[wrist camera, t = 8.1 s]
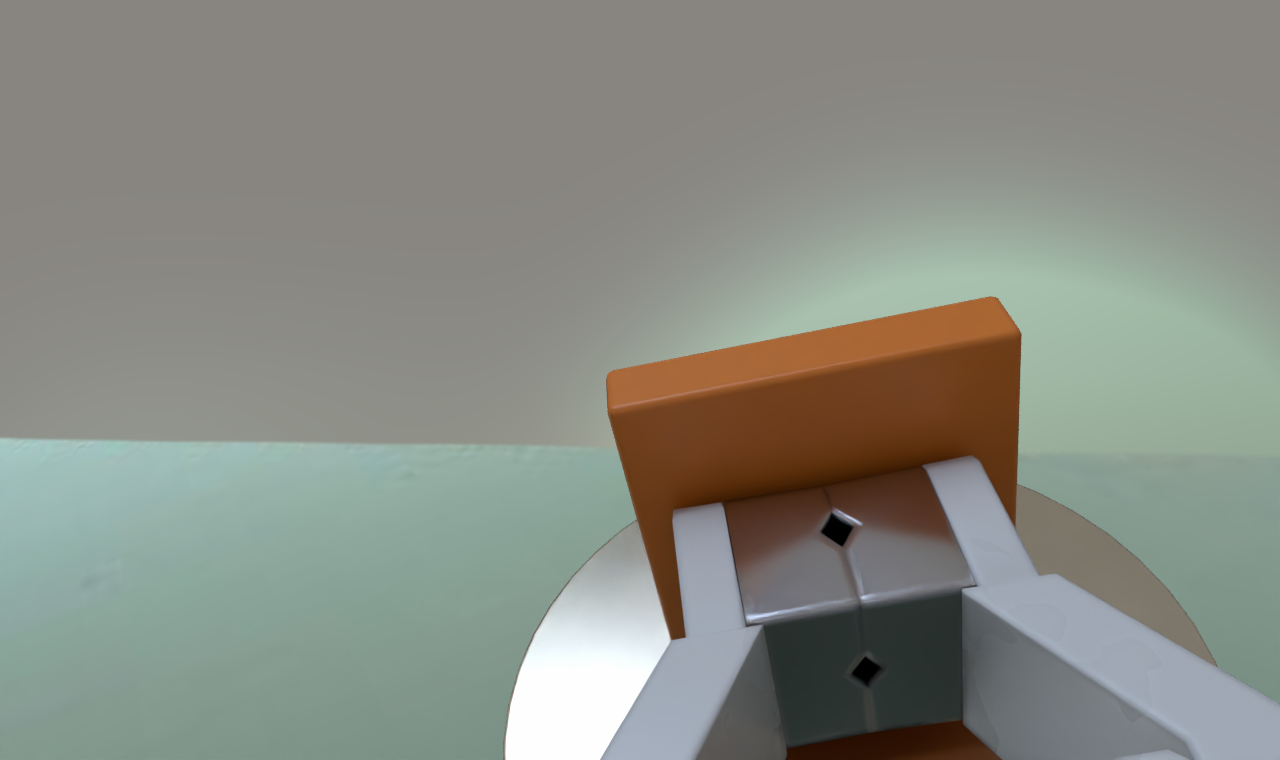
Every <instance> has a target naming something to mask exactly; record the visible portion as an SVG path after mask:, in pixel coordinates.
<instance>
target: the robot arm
mask: <svg viewBox="0 0 1280 760" xmlns="http://www.w3.org/2000/svg"><path fill="white" fill-rule="evenodd" d="M724 505H725V510H724V506H723V502H720V503H714V504H707V505H700V506H694V507H687V508H681V509H674V510H673V519H672V523H673V532H674V540H675V549H676V557H677V566H678V575H679V583H680V592H681V600H682V609H683V617H684V626H685V634H686V638H681V639H676V640H671V641H670V643H669V645H668V646H667V648H666V650H665V651H664V653H663V655H662V656H661V658H660V660H659V661H658V663H657V665H656V666H655V668H654V670H653V671H652V673H651V674H650V676H649V678H648V679H647V681H646V683H645V684H644V686H643V688H642V689H641V691H640V693H639V694H638V696H637V698H636V699H635V701H634V703H633V704H632V706H631V708H630V709H629V711H628V713H627V714H626V716H625V718H624V719H623V721H622V723H621V724H620V726H619V728H618V729H617V731H616V733H615V734H614V736H613V738H612V739H611V741H610V743H609V744H608V746H607V748H606V749H605V751H604V753H603V754H602V756H601V758H600V759H599V760H785V759H786V757H787V750H786V749H789V748H794V747H799V746H804V745H809V744H814V743H820V742H825V741H830V740H835V739H840V738H845V737H851V736H856V735H861V734H866V733H871V732H878V731H885V730H893V729H900V728H907V727H914V726H922V725H929V724H936V723H943V722H950V721H958V720H963V725H964V726H966V727H967V728H968V729H969V730H970V731H971V732H972V733H973V734H974V735H975V736H977V737H978V738H979V739H980V740H981V741H982V742H983V743H984V744H985V745H986V746H988V747H989V748H990V749H991V750H992V751H993V752H994V753H995V754H996V755H997V756H999V757H1000V758H1001V759H1002V760H1280V704H1279V703H1277V702H1275V701H1273V700H1272V699H1270V698H1268V697H1267V696H1265V695H1263V694H1261V693H1260V692H1258V691H1256V690H1255V689H1253V688H1251V687H1250V686H1248V685H1246V684H1244V683H1243V682H1241V681H1239V680H1238V679H1236V678H1234V677H1232V676H1231V675H1229V674H1227V673H1226V672H1224V671H1222V670H1221V669H1219V668H1217V667H1215V666H1214V665H1212V664H1210V663H1209V662H1207V661H1205V660H1204V659H1202V658H1200V657H1198V656H1197V655H1195V654H1193V653H1192V652H1190V651H1188V650H1186V649H1185V648H1183V647H1181V646H1180V645H1178V644H1176V643H1175V642H1173V641H1171V640H1169V639H1168V638H1166V637H1164V636H1163V635H1161V634H1159V633H1157V632H1156V631H1154V630H1152V629H1151V628H1149V627H1147V626H1146V625H1144V624H1142V623H1140V622H1139V621H1137V620H1135V619H1134V618H1132V617H1130V616H1129V615H1127V614H1125V613H1123V612H1122V611H1120V610H1118V609H1117V608H1115V607H1113V606H1111V605H1110V604H1108V603H1106V602H1105V601H1103V600H1101V599H1100V598H1098V597H1096V596H1094V595H1093V594H1091V593H1089V592H1088V591H1086V590H1084V589H1082V588H1081V587H1079V586H1077V585H1076V584H1074V583H1072V582H1071V581H1069V580H1067V579H1065V578H1064V577H1062V576H1060V575H1059V574H1057V573H1055V574H1049V575H1042V576H1040V574H1039V572H1038V570H1037V568H1036V567H1035V565H1034V563H1033V561H1032V559H1031V557H1030V555H1029V553H1028V551H1027V549H1026V548H1025V546H1024V544H1023V542H1022V540H1021V538H1020V536H1019V534H1018V532H1017V530H1016V529H1015V527H1014V525H1013V523H1012V521H1011V519H1010V517H1009V515H1008V513H1007V511H1006V510H1005V508H1004V506H1003V504H1002V502H1001V500H1000V498H999V496H998V494H997V492H996V491H995V489H994V487H993V485H992V483H991V481H990V479H989V477H988V475H987V473H986V472H985V470H984V468H983V466H982V464H981V462H980V461H979V460H978V459H977V458H975V457H974V456H973V455H969V456H964V457H959V458H954V459H949V460H944V461H939V462H934V463H929V464H924V465H921V467H918V466H916V467H911V468H906V469H901V470H896V471H890V472H885V473H880V474H875V475H869V476H864V477H859V478H854V479H849V480H843V481H838V482H833V483H828V484H823V485H819V486H813V487H806V488H800V489H794V490H788V491H781V492H775V493H769V494H763V495H756V496H750V497H744V498H737V499H731V500H725V501H724ZM725 511H726V515H725ZM726 517H727V520H726ZM727 522H728V524H727ZM728 528H729V529H728ZM729 533H730V534H729Z"/></svg>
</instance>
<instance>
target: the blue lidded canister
mask: <svg viewBox="0 0 1280 760" xmlns="http://www.w3.org/2000/svg"><path fill="white" fill-rule="evenodd" d="M1016 530H1017V532H1018V534H1019V536H1020V538H1021V540H1022V542H1023V544H1024V546H1025V548H1026V549H1027V551H1028V553H1029V555H1030V557H1031V559H1032V561H1033V563H1034V565H1035V567H1036V568H1037V570H1038V572H1039V574H1040V576H1042V575H1049V574H1055V573H1057V574H1059V575H1060V576H1062V577H1064V578H1065V579H1067V580H1069V581H1071V582H1072V583H1074V584H1076V585H1077V586H1079V587H1081V588H1082V589H1084V590H1086V591H1088V592H1089V593H1091V594H1093V595H1094V596H1096V597H1098V598H1100V599H1101V600H1103V601H1105V602H1106V603H1108V604H1110V605H1111V606H1113V607H1115V608H1117V609H1118V610H1120V611H1122V612H1123V613H1125V614H1127V615H1129V616H1130V617H1132V618H1134V619H1135V620H1137V621H1139V622H1140V623H1142V624H1144V625H1146V626H1147V627H1149V628H1151V629H1152V630H1154V631H1156V632H1157V633H1159V634H1161V635H1163V636H1164V637H1166V638H1168V639H1169V640H1171V641H1173V642H1175V643H1176V644H1178V645H1180V646H1181V647H1183V648H1185V649H1186V650H1188V651H1190V652H1192V653H1193V654H1195V655H1197V656H1198V657H1200V658H1202V659H1204V660H1205V661H1207V662H1209V663H1210V664H1212V665H1214V666H1215V667H1217V664H1216V662H1215V660H1214V659H1213V657H1212V655H1211V653H1210V651H1209V650H1208V648H1207V646H1206V644H1205V643H1204V641H1203V639H1202V637H1201V635H1200V634H1199V632H1198V630H1197V628H1196V626H1195V625H1194V623H1193V622H1192V620H1191V619H1190V618H1189V616H1188V615H1187V614H1186V612H1185V611H1184V610H1183V608H1182V607H1181V606H1180V604H1179V603H1178V602H1177V600H1176V599H1175V598H1174V596H1173V595H1172V594H1171V592H1170V591H1169V590H1168V589H1167V588H1166V587H1165V586H1164V584H1163V583H1162V582H1161V581H1160V580H1159V579H1158V578H1157V577H1156V576H1155V575H1154V574H1153V573H1152V572H1151V571H1150V570H1149V569H1148V568H1147V567H1146V566H1145V565H1144V564H1143V563H1142V562H1141V561H1140V560H1139V559H1138V558H1137V557H1136V556H1135V555H1133V554H1132V553H1131V552H1130V551H1128V550H1127V549H1126V548H1125V547H1124V546H1122V545H1121V544H1120V543H1119V542H1118V541H1116V540H1115V539H1114V538H1113V537H1111V536H1110V535H1109V534H1108V533H1106V532H1105V531H1103V530H1102V529H1100V528H1099V527H1097V526H1096V525H1094V524H1093V523H1091V522H1090V521H1088V520H1087V519H1085V518H1084V517H1082V516H1081V515H1079V514H1077V513H1076V512H1074V511H1073V510H1071V509H1069V508H1067V507H1065V506H1063V505H1061V504H1059V503H1057V502H1056V501H1054V500H1052V499H1050V498H1048V497H1046V496H1044V495H1042V494H1040V493H1038V492H1036V491H1033V490H1031V489H1028V488H1026V487H1023V486H1021V485H1018V484H1017V498H1016ZM670 641H671V640H670V637H669V633H668V629H667V626H666V622H665V619H664V615H663V611H662V608H661V604H660V600H659V597H658V593H657V590H656V586H655V582H654V579H653V575H652V572H651V568H650V564H649V561H648V557H647V553H646V550H645V546H644V543H643V539H642V535H641V532H640V528H639V525H638V521H637V520H636V521H634V522H633V523H631V524H630V525H628V526H627V527H625V528H624V529H623V530H621V531H620V532H619V533H618V534H617V535H615V536H614V537H613V538H612V539H611V540H609V541H608V542H607V543H606V544H605V545H604V546H602V547H601V548H600V549H599V550H598V551H596V552H595V553H594V554H593V556H592V557H591V558H590V559H589V560H588V561H587V562H586V563H585V564H584V565H583V566H582V567H581V568H580V569H579V570H578V571H577V572H576V573H575V574H574V575H573V576H572V578H571V579H570V580H569V582H568V583H567V584H566V585H565V587H564V588H563V589H562V591H561V592H560V593H559V595H558V596H557V597H556V599H555V600H554V601H553V603H552V604H551V605H550V607H549V609H548V610H547V612H546V614H545V616H544V617H543V619H542V621H541V622H540V624H539V626H538V627H537V629H536V631H535V633H534V634H533V636H532V639H531V641H530V643H529V646H528V648H527V650H526V653H525V655H524V657H523V660H522V662H521V664H520V667H519V669H518V673H517V676H516V680H515V683H514V687H513V691H512V694H511V698H510V701H509V705H508V712H507V720H506V727H505V734H504V742H503V760H599V759H600V758H601V756H602V754H603V753H604V751H605V749H606V748H607V746H608V744H609V743H610V741H611V739H612V738H613V736H614V734H615V733H616V731H617V729H618V728H619V726H620V724H621V723H622V721H623V719H624V718H625V716H626V714H627V713H628V711H629V709H630V708H631V706H632V704H633V703H634V701H635V699H636V698H637V696H638V694H639V693H640V691H641V689H642V688H643V686H644V684H645V683H646V681H647V679H648V678H649V676H650V674H651V673H652V671H653V670H654V668H655V666H656V665H657V663H658V661H659V660H660V658H661V656H662V655H663V653H664V651H665V650H666V648H667V646H668V645H669V643H670ZM1217 668H1218V667H1217ZM786 750H787V757H786V759H785V760H1002V759H1001V758H1000V757H999V756H997V755H996V754H995V753H994V752H993V751H992V750H991V749H990V748H989V747H988V746H986V745H985V744H984V743H983V742H982V741H981V740H980V739H979V738H978V737H977V736H975V735H974V734H973V733H972V732H971V731H970V730H969V729H968V728H967V727H966V726H964V725H963V720H958V721H950V722H943V723H936V724H929V725H922V726H914V727H907V728H900V729H893V730H885V731H878V732H871V733H866V734H861V735H856V736H851V737H845V738H840V739H835V740H830V741H825V742H820V743H814V744H809V745H804V746H799V747H794V748H789V749H786Z"/></svg>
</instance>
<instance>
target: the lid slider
mask: <svg viewBox="0 0 1280 760" xmlns="http://www.w3.org/2000/svg"><path fill="white" fill-rule="evenodd" d="M1020 360H1021V333H1020V330H1019V328H1018V327H1017V326H1016V324H1015V323H1014V321H1013V320H1012V318H1011V317H1010V315H1009V314H1008V312H1007V311H1006V310H1005V308H1004V306H1003V305H1002V304H1001V302H1000V301H999V299H998V298H996V297H985V298H980V299H975V300H970V301H964V302H959V303H954V304H949V305H944V306H939V307H934V308H929V309H924V310H919V311H914V312H908V313H903V314H898V315H893V316H888V317H883V318H878V319H873V320H868V321H863V322H858V323H853V324H847V325H843V326H837V327H832V328H827V329H822V330H817V331H812V332H806V333H801V334H796V335H792V336H787V337H781V338H776V339H771V340H766V341H761V342H756V343H751V344H746V345H740V346H736V347H730V348H725V349H720V350H715V351H710V352H705V353H700V354H694V355H689V356H684V357H679V358H674V359H669V360H664V361H659V362H654V363H649V364H644V365H639V366H634V367H629V368H623V369H618V370H613V371H611V372H609V373H608V375H607V379H606V385H607V405H608V406H607V407H608V416H609V419H610V423H611V427H612V431H613V434H614V438H615V441H616V445H617V449H618V452H619V456H620V460H621V463H622V467H623V470H624V474H625V478H626V481H627V485H628V488H629V492H630V496H631V499H632V503H633V506H634V510H635V514H636V517H637V521H638V525H639V528H640V532H641V535H642V539H643V543H644V546H645V550H646V553H647V557H648V561H649V564H650V568H651V572H652V575H653V579H654V582H655V586H656V590H657V593H658V597H659V600H660V604H661V608H662V611H663V615H664V619H665V622H666V626H667V629H668V633H669V637H670V640H676V639H681V638H686V634H685V626H684V617H683V609H682V600H681V592H680V583H679V575H678V566H677V557H676V549H675V540H674V532H673V523H672V519H673V510H674V509H681V508H687V507H694V506H700V505H707V504H714V503H720V502H723V506H724V510H725V505H724V501H725V500H731V499H737V498H744V497H750V496H756V495H763V494H769V493H775V492H781V491H788V490H794V489H800V488H806V487H813V486H819V485H823V484H828V483H833V482H838V481H843V480H849V479H854V478H859V477H864V476H869V475H875V474H880V473H885V472H890V471H896V470H901V469H906V468H911V467H916V466H918V467H921V465H924V464H929V463H934V462H939V461H944V460H949V459H954V458H959V457H964V456H969V455H973V456H974V457H975V458H977V459H978V460H979V461H980V462H981V464H982V466H983V468H984V470H985V472H986V473H987V475H988V477H989V479H990V481H991V483H992V485H993V487H994V489H995V491H996V492H997V494H998V496H999V498H1000V500H1001V502H1002V504H1003V506H1004V508H1005V510H1006V511H1007V513H1008V515H1009V517H1010V519H1011V521H1012V523H1013V525H1014V527H1015V529H1016V498H1017V464H1018V431H1019V428H1018V427H1019V396H1020ZM725 515H726V511H725ZM726 520H727V517H726ZM727 524H728V522H727ZM728 529H729V528H728ZM729 534H730V533H729Z"/></svg>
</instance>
